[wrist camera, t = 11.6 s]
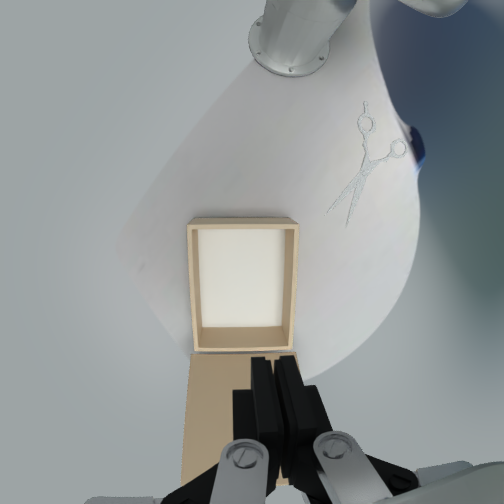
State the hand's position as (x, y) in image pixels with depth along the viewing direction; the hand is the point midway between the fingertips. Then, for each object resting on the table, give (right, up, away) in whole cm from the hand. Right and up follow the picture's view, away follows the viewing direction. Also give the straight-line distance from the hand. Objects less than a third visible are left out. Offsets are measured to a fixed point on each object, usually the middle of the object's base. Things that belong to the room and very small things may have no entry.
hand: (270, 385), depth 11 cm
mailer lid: (-1, -14, +22) cm, 26 cm away
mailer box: (-2, +2, +35) cm, 35 cm away
